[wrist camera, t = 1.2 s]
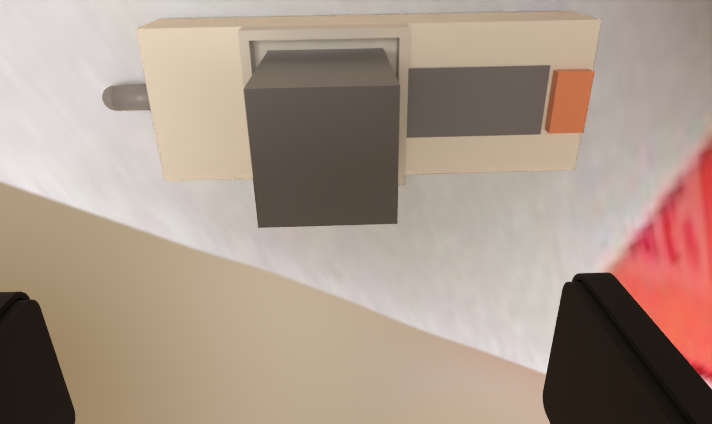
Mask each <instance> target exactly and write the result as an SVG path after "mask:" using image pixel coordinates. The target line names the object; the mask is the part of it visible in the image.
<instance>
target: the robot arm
mask: <svg viewBox="0 0 712 424" xmlns="http://www.w3.org/2000/svg"><path fill="white" fill-rule="evenodd" d="M543 404H544V409H545V412H546V415H547V417H548V419H549V421H550V424H712V389H711V388H710V387H709V386H708V385H707V383H706V382H705V381H704V380H703V379H702V378H701V376H700V375H699V374H698V373H697V372H696V371H695V369H694V368H693V367H692V366H691V365H690V364H689V362H688V361H687V360H686V359H685V358H684V357H683V355H682V354H681V353H680V352H679V351H678V350H677V348H676V347H675V346H674V345H673V344H672V343H671V341H670V340H669V339H668V338H667V337H666V336H665V334H664V333H663V332H662V331H661V330H660V329H659V327H658V326H657V325H656V324H655V323H654V322H653V320H652V319H651V318H650V317H649V316H648V315H647V313H646V312H645V311H644V310H643V309H642V308H641V307H640V305H639V304H638V303H637V302H636V301H635V300H634V298H633V297H632V296H631V295H630V294H629V293H628V291H627V290H626V289H625V288H624V287H623V286H622V284H621V283H620V282H619V281H618V280H617V279H616V277H615V276H614V275H612V274H611V273H580V274H576V275H575V276H574V278H573V280H572V282H566V283H565V284H564V286H563V290H562V295H561V300H560V305H559V311H558V316H557V321H556V326H555V332H554V337H553V342H552V347H551V353H550V358H549V363H548V369H547V374H546V380H545V385H544V390H543ZM0 424H75V411H74V407H73V404H72V402H71V398H70V395H69V392H68V389H67V386H66V383H65V381H64V378H63V375H62V371H61V368H60V366H59V363H58V359H57V356H56V353H55V350H54V347H53V344H52V342H51V339H50V335H49V332H48V329H47V326H46V323H45V320H44V317H43V314H42V312H41V308H40V306H39V304H38V303H37V301H35V300H30V298H29V296H28V295H27V294H26V293H23V292H0Z"/></svg>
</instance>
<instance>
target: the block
mask: <svg viewBox="0 0 712 424" xmlns="http://www.w3.org/2000/svg"><path fill="white" fill-rule="evenodd" d="M243 90H244V99H245V108H246V118H247V127H248V136H249V145H250V155H251V164H252V173H253V182H254V192H255V201H256V210H257V219H258V228H263V227H297V226H331V225H365V224H397V207H398V162H399V116H400V84H399V82H398V80H397V77H396V75H395V73H394V71H393V69H392V67H391V65H390V62H389V60H388V58H387V56H386V54H385V52H384V50H383V48H359V49H312V50H268V51H267V53H266V54H265V56H264V57H263V59H262V60H261V62H260V64H259V65H258V67H257V68H256V70H255V71H254V73H253V75H252V76H251V78H250V79H249V81H248V82H247V84H246V86H245V87H244V89H243Z"/></svg>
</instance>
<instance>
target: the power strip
mask: <svg viewBox="0 0 712 424" xmlns="http://www.w3.org/2000/svg"><path fill="white" fill-rule="evenodd" d="M601 21H602V19H598V18H594V17H591V16H587V15H583V14H580V13H576V12H573V11H534V12H482V13H431V14H380V15H329V16H278V17H227V18H176V19H158V20H156V21H153V22H151V23H149V24H146V25H144V26H141V27H139V28H137V29H136V33H137V39H138V44H139V49H140V55H141V60H142V65H143V71H144V76H145V81H146V85H118V86H110V87H108V88H106V89H105V90H104V92H103V95H102V99H103V102H104V104H105V105H106V106H107V107H108V108H109V109H111V110H116V111H122V110H151V113H152V119H153V124H154V129H155V134H156V140H157V145H158V150H159V156H160V161H161V166H162V172H163V177H164V181H184V180H221V179H253V173H252V164H251V155H250V145H249V136H248V127H247V118H246V108H245V99H244V90H243V89H244V87H245V86H246V84H247V82H248V81H249V79H250V78H251V76H252V75H253V73H254V71H255V70H256V68H257V67H258V65H259V64H260V62H261V60H262V59H263V57H264V56H265V54H266V53H267V51H268V50H312V49H359V48H383V50H384V52H385V54H386V56H387V58H388V60H389V62H390V65H391V67H392V69H393V71H394V73H395V75H396V77H397V80H398V82H399V84H400V116H399V162H398V185H401V184H405V174H442V173H479V172H516V171H553V170H575V166H576V161H577V155H578V149H579V144H580V138H581V133H583V131H584V126H585V120H586V115H587V109H588V104H589V98H590V93H591V87H592V82H593V76H594V71H593V66H594V60H595V54H596V49H597V43H598V38H599V32H600V26H601Z"/></svg>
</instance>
